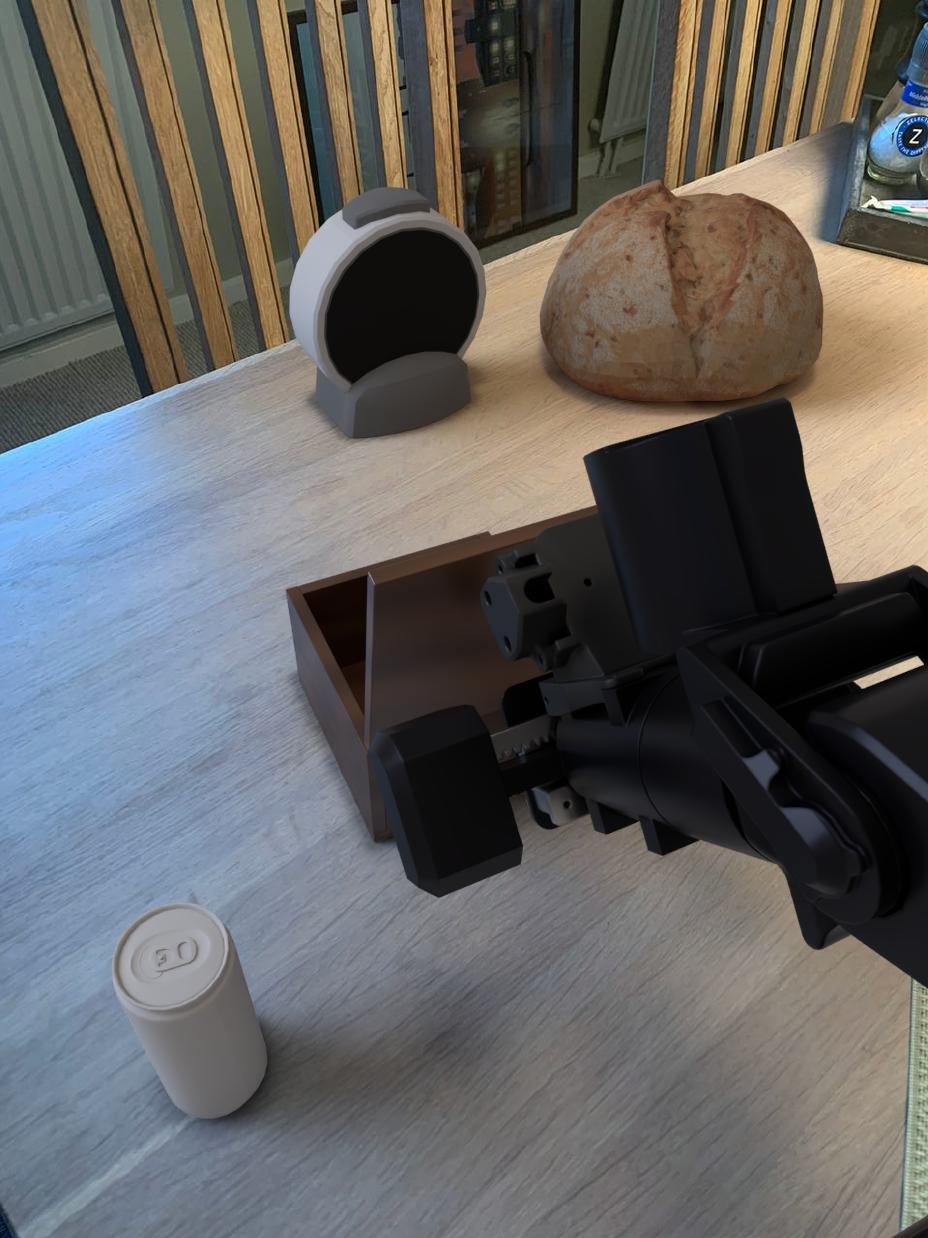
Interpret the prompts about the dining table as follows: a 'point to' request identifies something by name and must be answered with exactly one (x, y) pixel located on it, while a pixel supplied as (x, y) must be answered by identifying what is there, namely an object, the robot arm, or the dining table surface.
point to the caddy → (347, 674)
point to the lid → (440, 632)
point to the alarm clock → (388, 312)
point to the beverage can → (191, 1007)
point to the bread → (684, 298)
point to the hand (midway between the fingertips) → (533, 722)
